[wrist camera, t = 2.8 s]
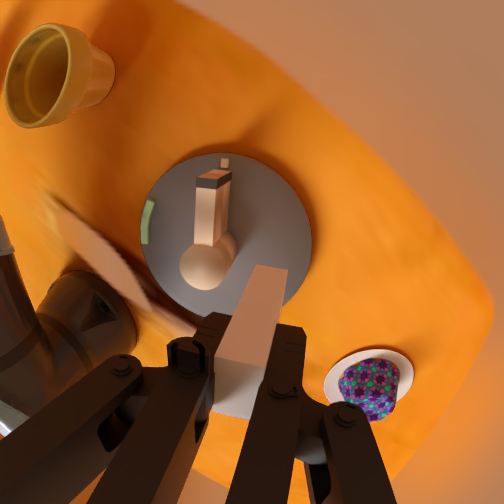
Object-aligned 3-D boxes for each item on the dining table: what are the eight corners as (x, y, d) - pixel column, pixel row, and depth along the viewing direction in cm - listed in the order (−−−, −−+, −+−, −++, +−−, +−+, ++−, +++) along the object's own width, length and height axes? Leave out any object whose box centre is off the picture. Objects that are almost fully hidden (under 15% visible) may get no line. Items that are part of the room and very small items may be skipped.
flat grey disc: (296, 327, 35) (294, 337, 33) (149, 297, 38) (142, 305, 36) (325, 165, 28) (326, 168, 26) (147, 147, 31) (137, 148, 29)
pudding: (304, 378, 38) (302, 408, 34) (381, 328, 34) (388, 357, 29) (357, 419, 40) (358, 447, 35) (427, 378, 35) (435, 406, 30)
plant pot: (115, 131, 30) (53, 139, 22) (54, 113, 31) (-5, 119, 22) (143, 42, 26) (86, 22, 17) (77, 35, 26) (19, 23, 18)
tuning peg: (236, 269, 32) (222, 293, 27) (198, 262, 32) (179, 285, 28) (245, 172, 28) (231, 181, 23) (202, 167, 28) (181, 176, 24)
